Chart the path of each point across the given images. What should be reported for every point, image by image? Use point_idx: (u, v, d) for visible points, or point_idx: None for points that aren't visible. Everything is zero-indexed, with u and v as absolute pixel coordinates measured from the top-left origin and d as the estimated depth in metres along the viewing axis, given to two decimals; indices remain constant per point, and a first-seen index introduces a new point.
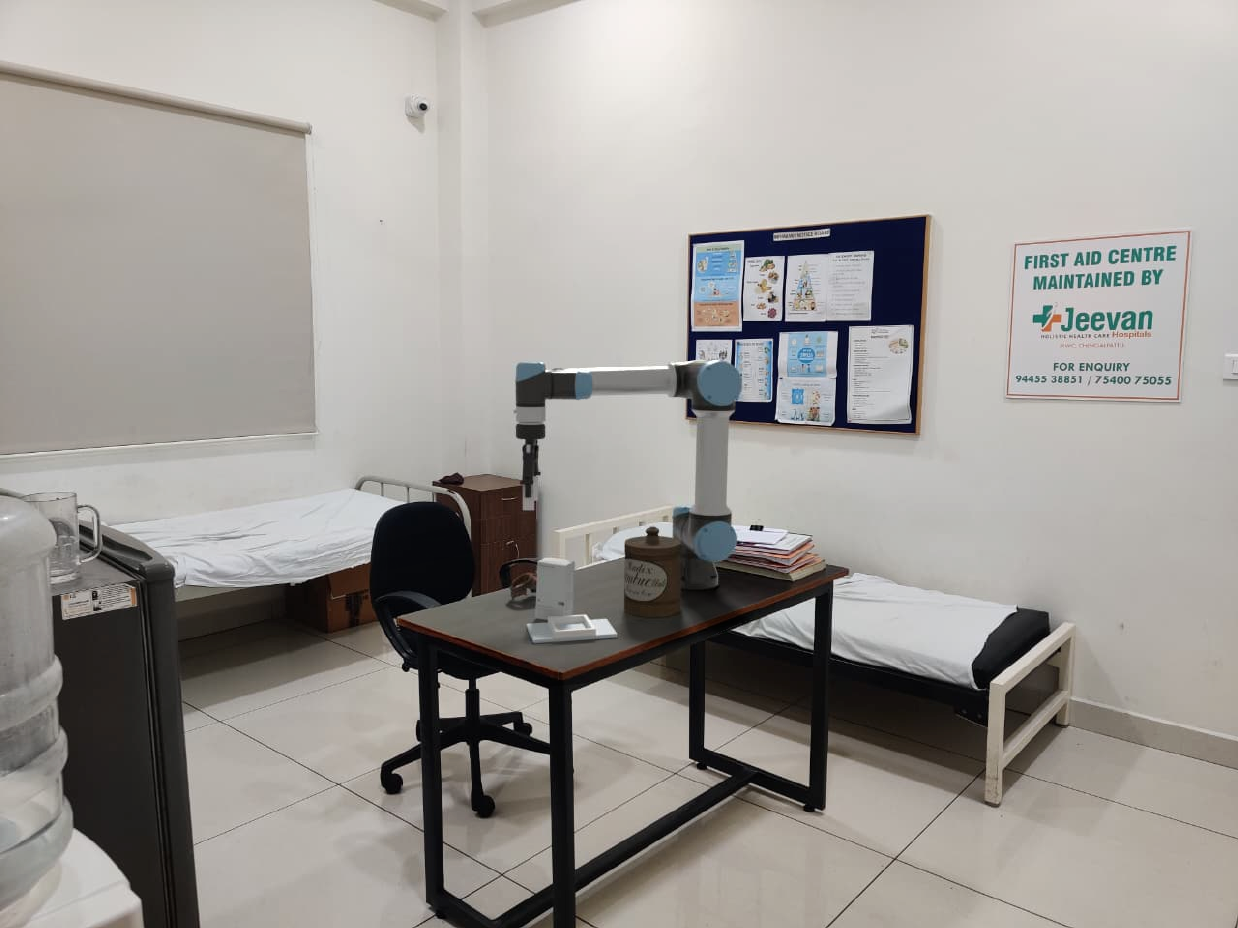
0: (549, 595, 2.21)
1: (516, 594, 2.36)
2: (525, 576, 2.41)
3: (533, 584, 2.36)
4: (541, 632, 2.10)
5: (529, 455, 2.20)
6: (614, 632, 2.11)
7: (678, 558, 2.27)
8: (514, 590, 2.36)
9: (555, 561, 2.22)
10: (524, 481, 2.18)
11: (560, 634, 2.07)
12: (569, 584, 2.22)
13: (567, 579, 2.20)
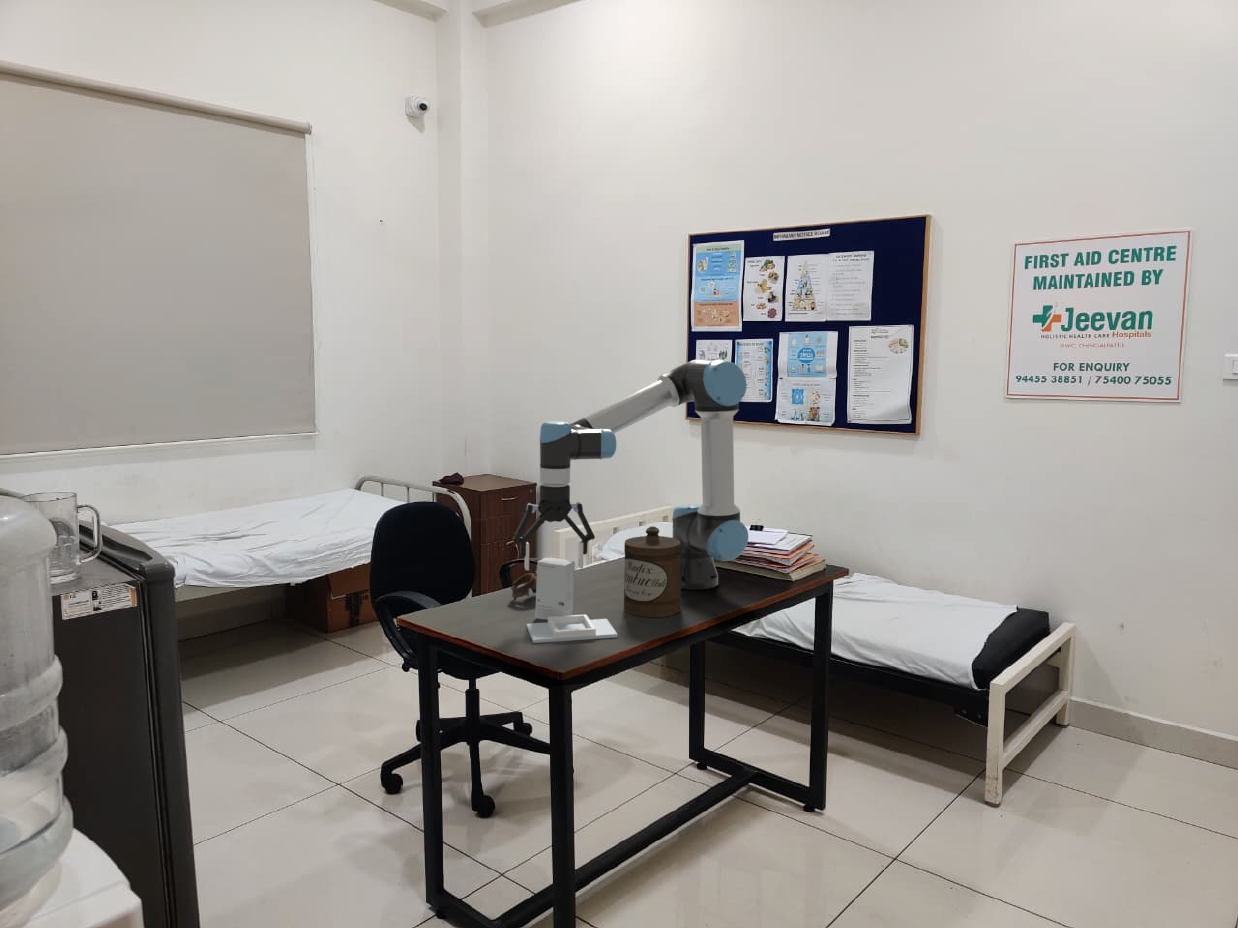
0: (549, 595, 2.21)
1: (518, 594, 2.35)
2: (527, 576, 2.40)
3: (535, 584, 2.36)
4: (541, 632, 2.10)
5: (525, 514, 2.19)
6: (614, 632, 2.11)
7: (678, 558, 2.27)
8: (516, 590, 2.35)
9: (555, 561, 2.22)
10: (513, 538, 2.20)
11: (560, 634, 2.07)
12: (569, 584, 2.22)
13: (567, 579, 2.20)
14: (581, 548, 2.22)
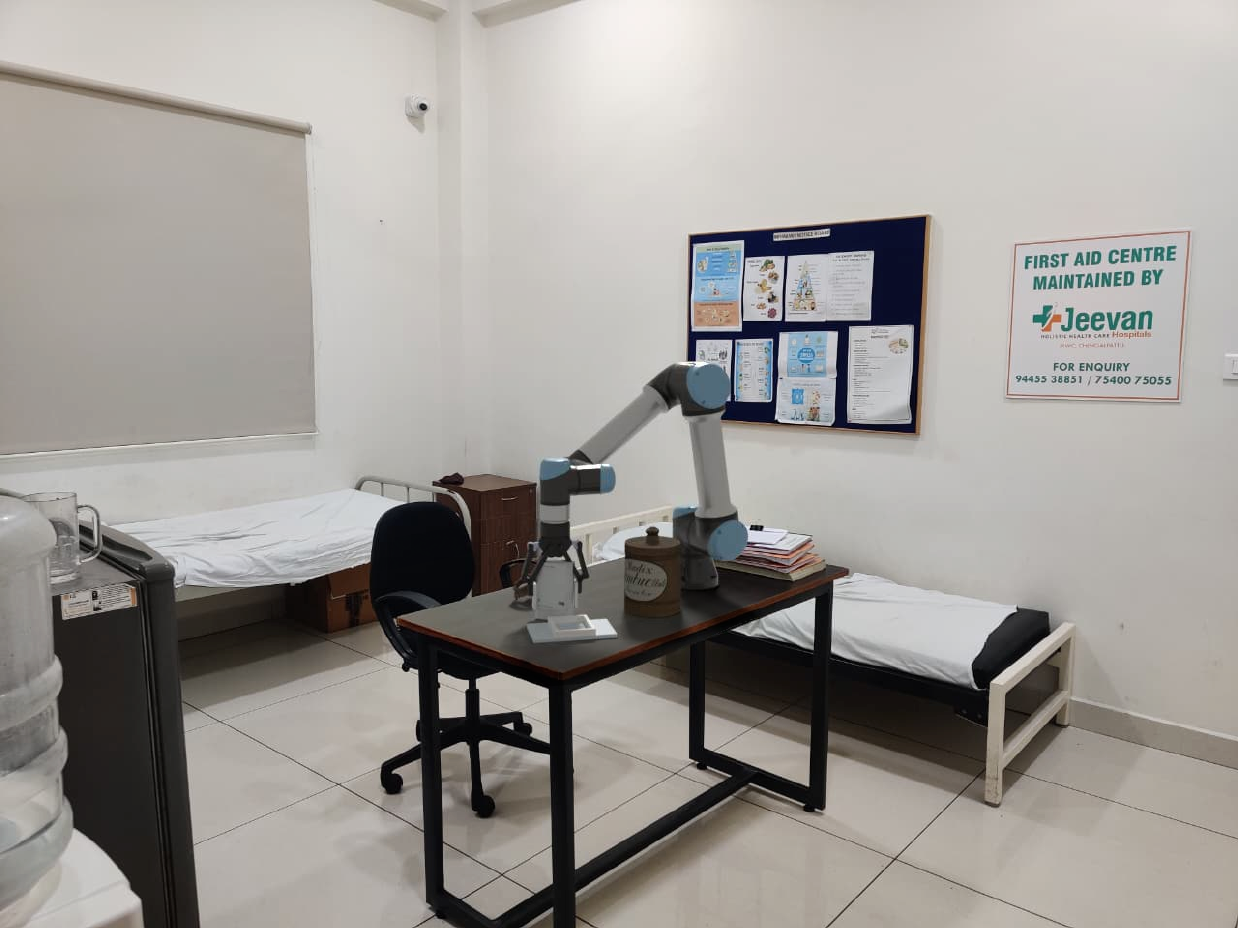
0: (549, 595, 2.21)
1: (520, 595, 2.35)
2: None
3: None
4: (541, 632, 2.10)
5: (528, 553, 2.20)
6: (614, 632, 2.11)
7: (678, 558, 2.27)
8: (518, 591, 2.35)
9: (555, 561, 2.22)
10: None
11: (560, 634, 2.07)
12: (569, 584, 2.22)
13: (567, 579, 2.20)
14: (576, 587, 2.23)
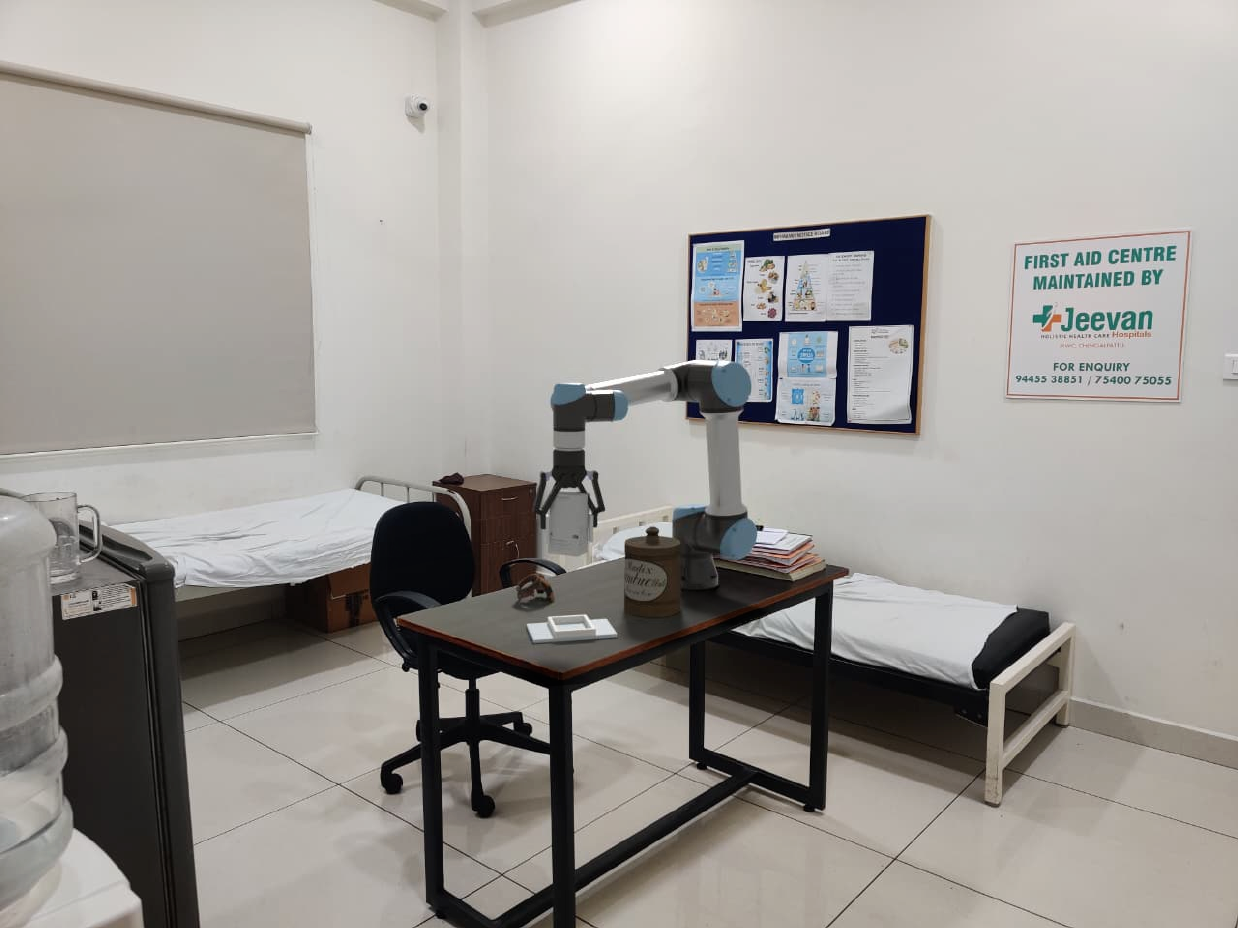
0: (562, 528, 2.09)
1: (523, 595, 2.35)
2: (531, 577, 2.40)
3: (540, 585, 2.35)
4: (541, 632, 2.10)
5: (540, 483, 2.08)
6: (614, 632, 2.11)
7: (678, 558, 2.27)
8: (521, 591, 2.35)
9: (569, 492, 2.09)
10: None
11: (560, 634, 2.07)
12: (584, 517, 2.09)
13: (582, 510, 2.08)
14: (591, 521, 2.11)
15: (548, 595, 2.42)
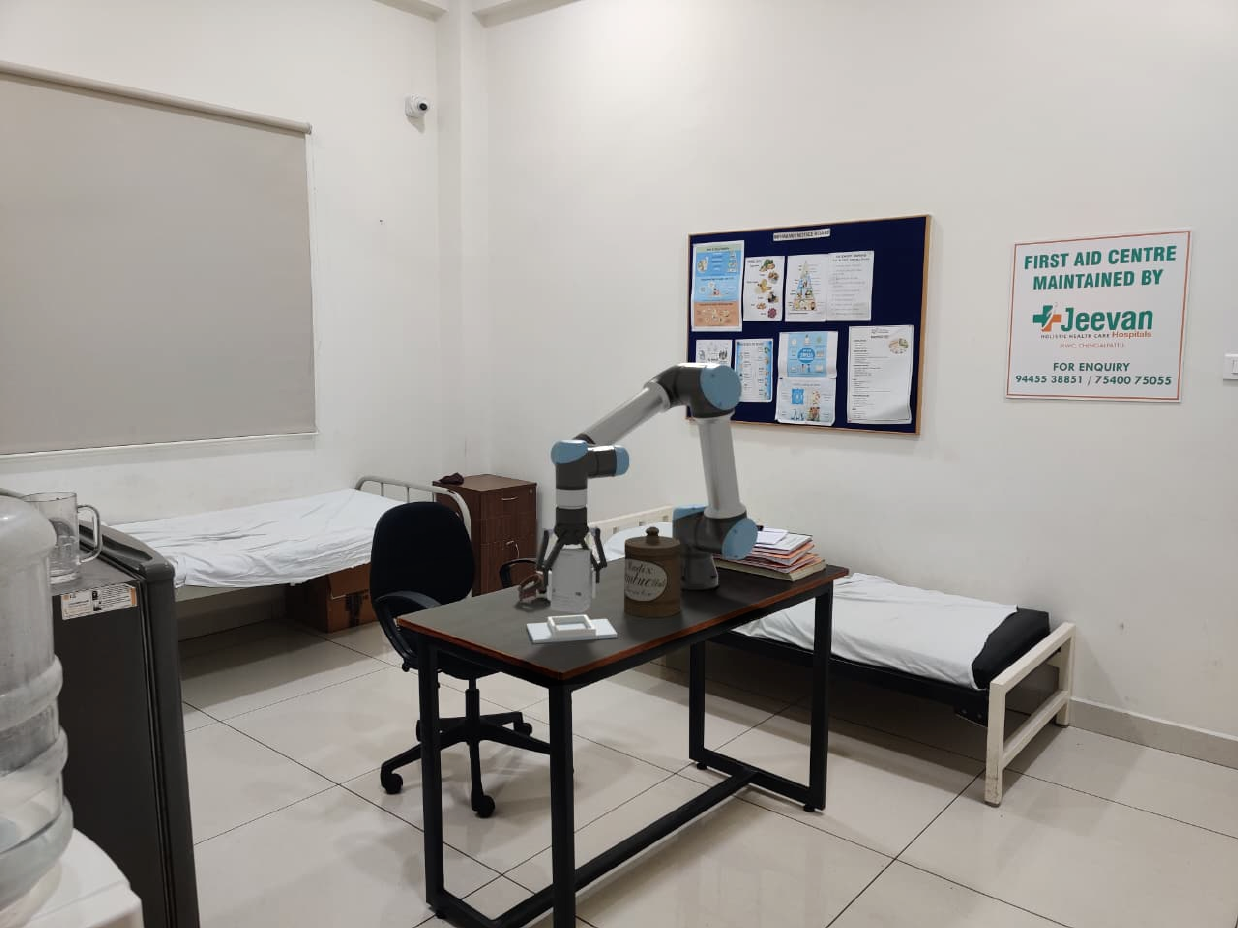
0: (565, 585, 2.09)
1: (525, 595, 2.34)
2: (533, 577, 2.40)
3: (542, 585, 2.35)
4: (541, 632, 2.10)
5: (543, 541, 2.08)
6: (614, 632, 2.11)
7: (678, 558, 2.27)
8: (523, 591, 2.35)
9: (572, 549, 2.10)
10: (535, 567, 2.10)
11: (560, 634, 2.07)
12: (586, 573, 2.10)
13: (584, 567, 2.08)
14: (593, 577, 2.11)
15: None
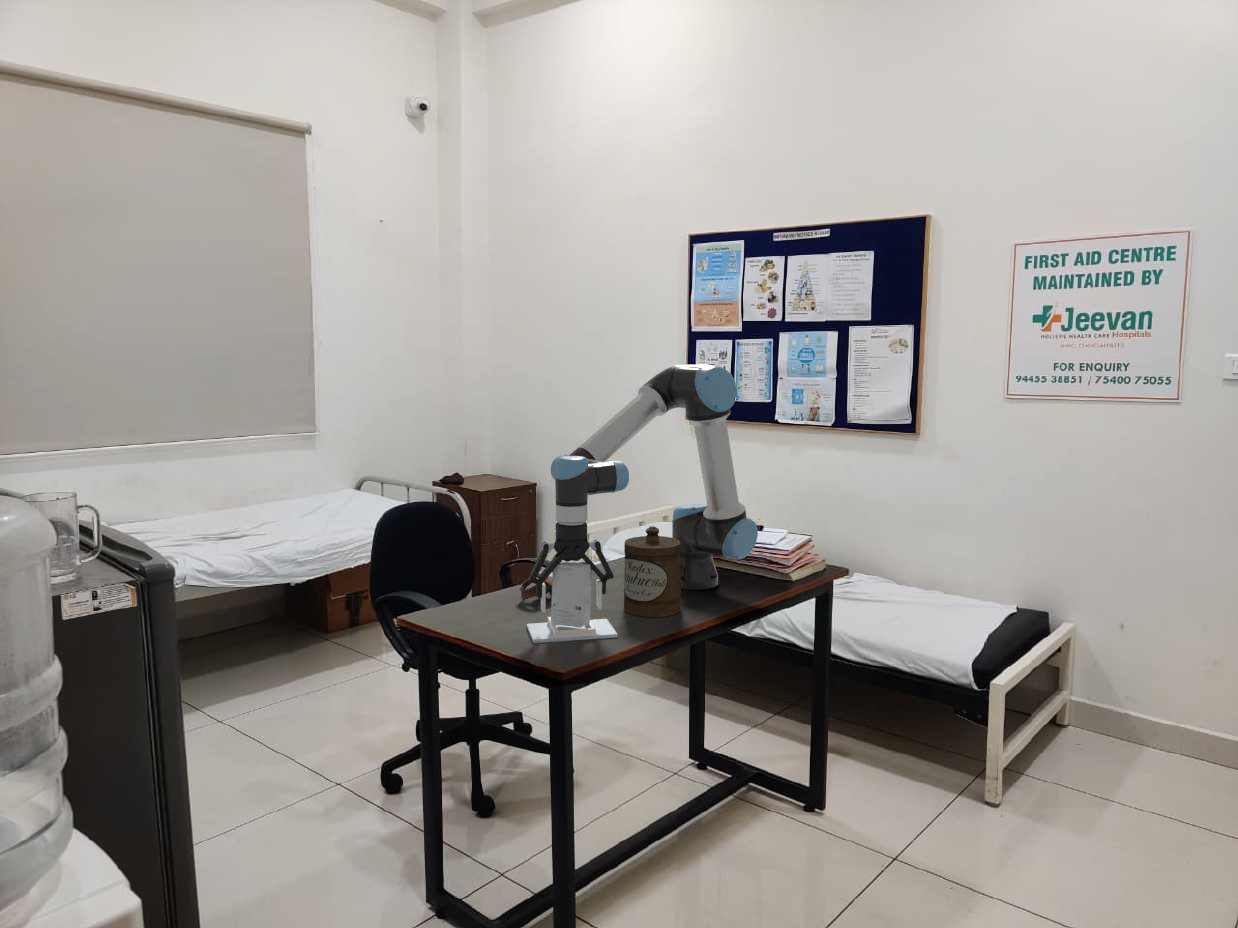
0: (565, 599, 2.10)
1: (527, 596, 2.34)
2: None
3: None
4: (541, 632, 2.10)
5: (541, 554, 2.09)
6: (614, 632, 2.11)
7: (678, 558, 2.27)
8: (525, 592, 2.34)
9: (572, 563, 2.10)
10: (529, 578, 2.10)
11: (560, 634, 2.07)
12: (586, 588, 2.10)
13: (585, 582, 2.09)
14: (600, 588, 2.12)
15: None
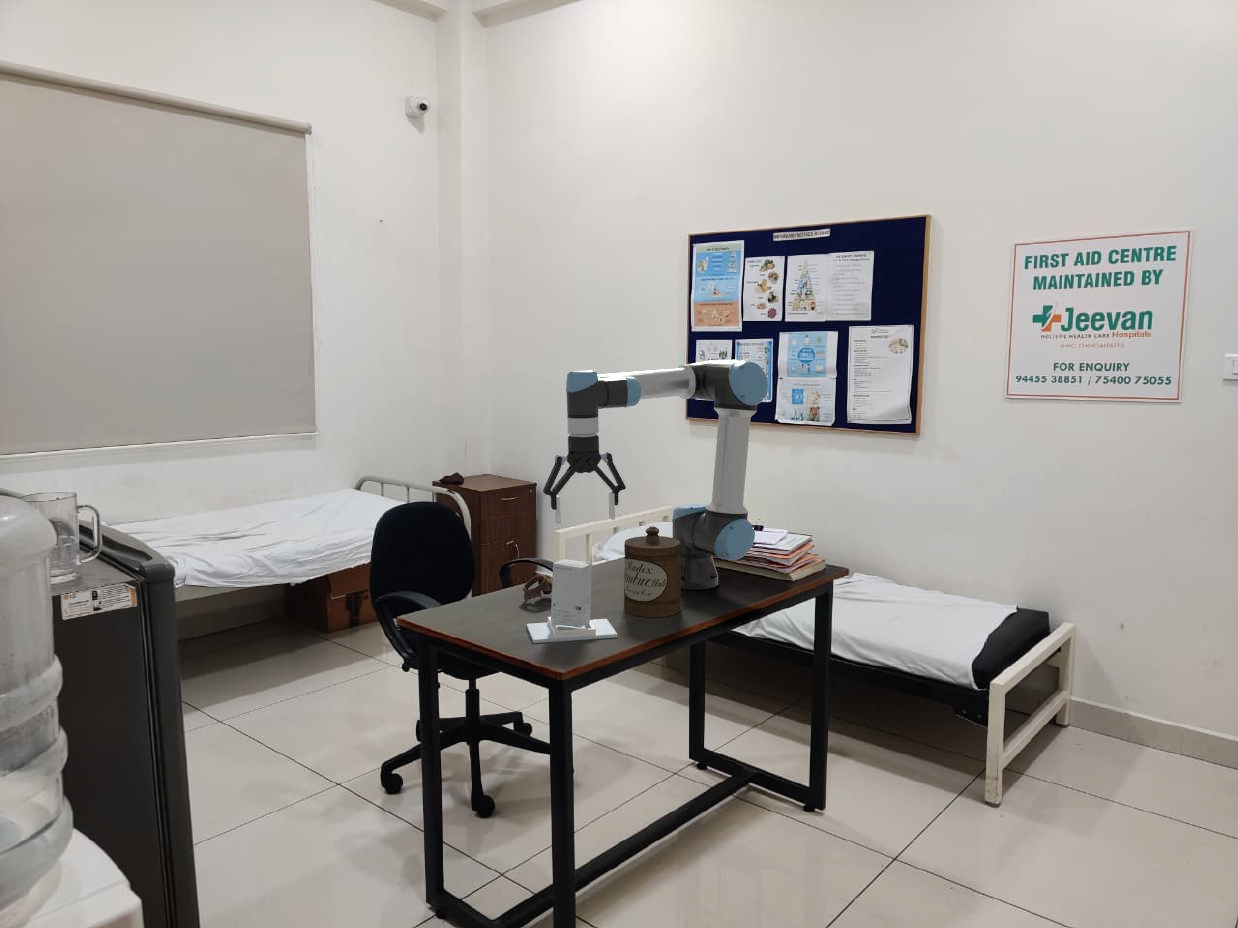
0: (565, 599, 2.10)
1: (530, 596, 2.34)
2: (538, 578, 2.39)
3: (547, 586, 2.34)
4: (541, 632, 2.10)
5: (555, 466, 2.14)
6: (614, 632, 2.11)
7: (678, 558, 2.27)
8: (528, 592, 2.34)
9: (572, 563, 2.10)
10: (543, 491, 2.15)
11: (560, 634, 2.07)
12: (586, 588, 2.10)
13: (585, 582, 2.09)
14: (612, 499, 2.18)
15: None
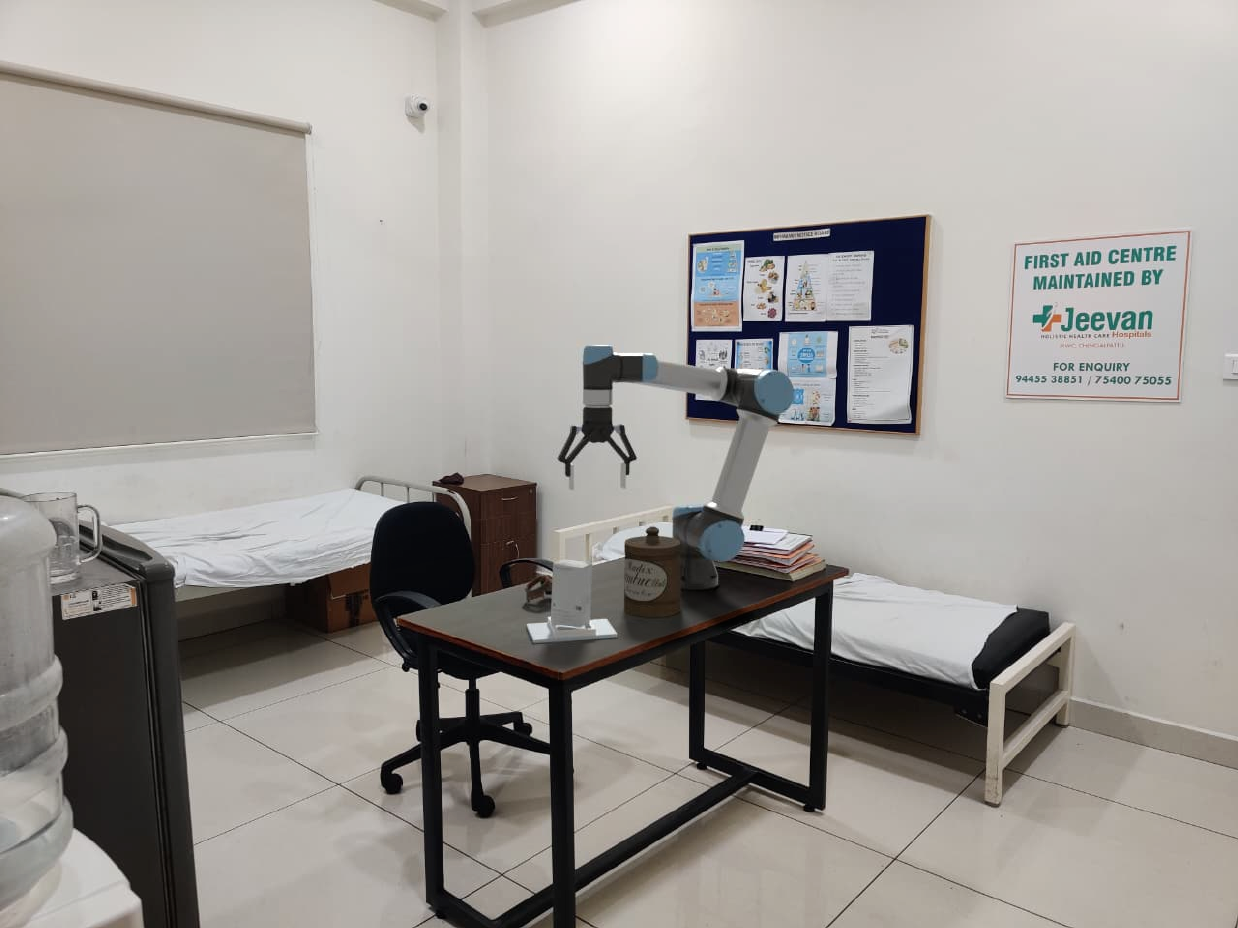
0: (565, 599, 2.10)
1: (533, 596, 2.34)
2: (540, 578, 2.39)
3: (550, 586, 2.34)
4: (541, 632, 2.10)
5: (570, 435, 2.25)
6: (614, 632, 2.11)
7: (678, 558, 2.27)
8: (531, 592, 2.34)
9: (572, 563, 2.10)
10: (558, 459, 2.26)
11: (560, 634, 2.07)
12: (586, 588, 2.10)
13: (585, 582, 2.09)
14: (624, 469, 2.28)
15: None
